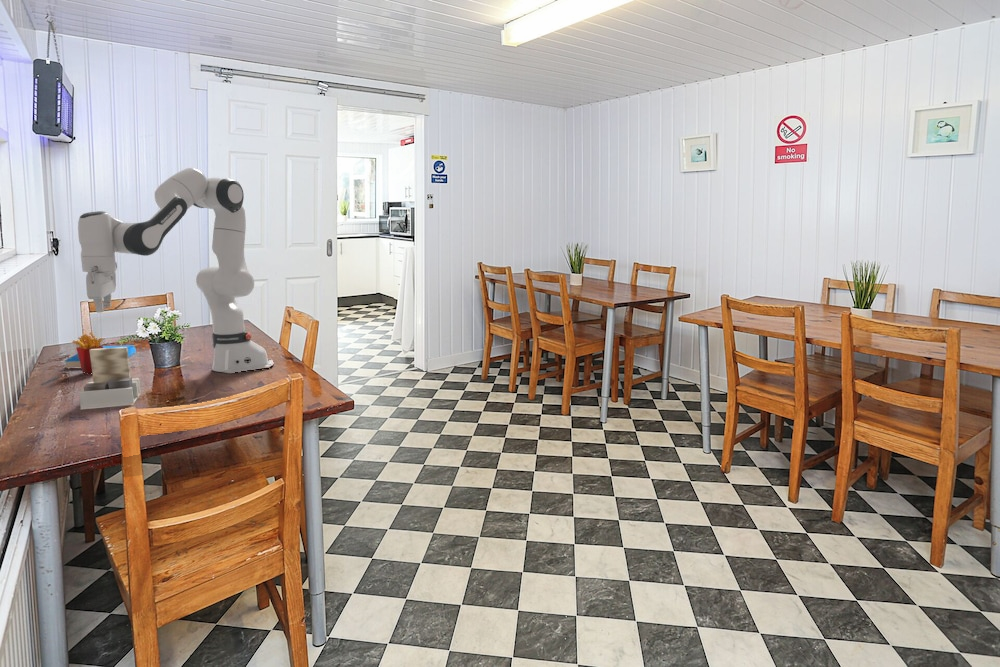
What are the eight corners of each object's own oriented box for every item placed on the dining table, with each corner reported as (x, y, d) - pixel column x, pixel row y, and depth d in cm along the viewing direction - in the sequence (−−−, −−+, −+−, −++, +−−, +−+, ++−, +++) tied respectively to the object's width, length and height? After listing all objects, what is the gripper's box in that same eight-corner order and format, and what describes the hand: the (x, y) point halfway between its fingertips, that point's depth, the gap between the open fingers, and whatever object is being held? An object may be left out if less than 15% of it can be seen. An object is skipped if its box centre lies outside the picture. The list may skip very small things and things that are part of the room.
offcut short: (110, 400, 196) (107, 382, 195) (107, 404, 192) (104, 385, 191) (89, 402, 194) (87, 383, 193) (86, 406, 191) (83, 387, 189)
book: (64, 360, 239) (90, 345, 262) (66, 371, 240) (91, 355, 263) (114, 358, 243) (135, 343, 266) (115, 368, 244) (136, 353, 267)
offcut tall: (134, 398, 198) (131, 377, 197) (131, 402, 195) (129, 380, 193) (113, 400, 196) (111, 378, 195) (110, 403, 193) (108, 382, 191)
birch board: (132, 394, 202) (127, 346, 199) (131, 396, 200) (126, 347, 197) (97, 398, 199) (90, 349, 196) (95, 399, 197) (89, 350, 194)
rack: (141, 396, 205) (139, 377, 204) (133, 409, 192) (131, 389, 191) (92, 400, 201) (89, 381, 199) (80, 414, 188) (77, 393, 186)
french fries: (107, 371, 236) (102, 333, 233) (83, 376, 229) (77, 336, 226) (95, 368, 241) (90, 330, 238) (71, 373, 234) (66, 334, 231)
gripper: (103, 268, 183) (108, 314, 186) (117, 262, 202) (122, 305, 204) (77, 268, 181) (83, 315, 183) (95, 263, 200) (100, 305, 202)
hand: (103, 309), depth 194 cm, fingers open, 8 cm apart
